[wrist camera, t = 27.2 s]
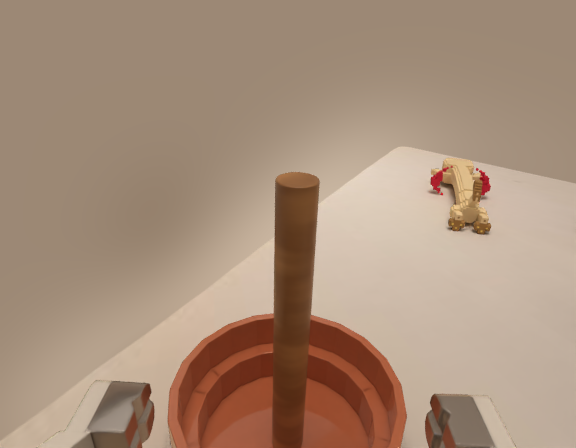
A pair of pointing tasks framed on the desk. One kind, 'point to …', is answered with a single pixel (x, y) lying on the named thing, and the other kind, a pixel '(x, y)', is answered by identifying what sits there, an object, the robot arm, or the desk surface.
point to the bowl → (259, 390)
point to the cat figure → (464, 193)
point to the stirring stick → (292, 302)
